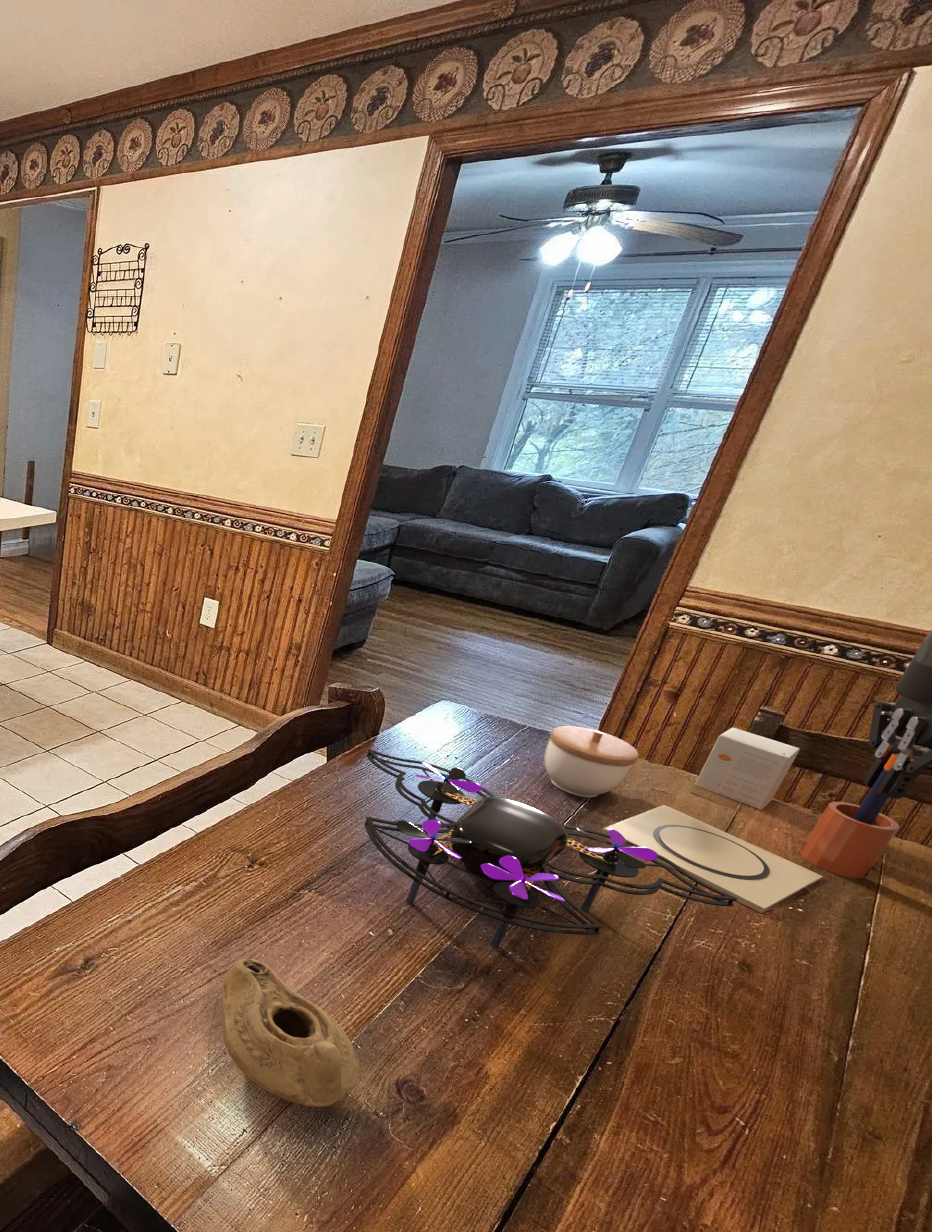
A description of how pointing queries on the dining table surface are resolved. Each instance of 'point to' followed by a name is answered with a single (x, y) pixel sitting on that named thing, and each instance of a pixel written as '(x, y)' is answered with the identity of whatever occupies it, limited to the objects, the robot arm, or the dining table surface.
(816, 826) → the pen cup
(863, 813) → the marker
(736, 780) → the small box
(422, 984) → the dining table surface
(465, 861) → the drone
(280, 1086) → the oil lamp
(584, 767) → the trinket box
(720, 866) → the drawing pad
